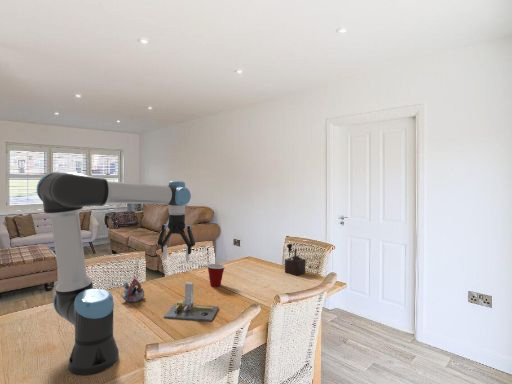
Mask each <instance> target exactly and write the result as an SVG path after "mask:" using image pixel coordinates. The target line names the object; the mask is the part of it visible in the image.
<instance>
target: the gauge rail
mask: <svg viewBox="0 0 512 384" xmlns="http://www.w3.org/2000/svg"><path fill="white" fill-rule="evenodd" d="M184 301H185V299H179V300H178V301H177V303H175V304H176V305H175V310H177V312H178V310H182V309H184ZM204 306H205V305H202V306H191V310H205V311H212V310H213V307H204Z"/></svg>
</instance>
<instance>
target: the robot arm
mask: <svg viewBox="0 0 512 384" xmlns="http://www.w3.org/2000/svg"><path fill="white" fill-rule="evenodd" d="M36 194H37V196H38V198H39V199H40V201H41V202H42V206H43V212H44V214H45V215H47V216H48V217H50V222H51V223H50V224H51V231H52V238H53V239H52V240H53V244H54V250H55V259H56V265H57V273H58V279H59V282H58V284H57V285H56V286H55V294H54V297H53V299H52V300H53V301H52V302H53V303H52V305H53V308H54V310H55V313H57V314H58V316H60V317H61V318H63V319H65V320H66V321H68V322H69V323H70V324H72V325H73V326H74V345H73V348H72V350H71V353H70V355H69V357H68V358H69V359H68V370H69V371H70V372H71V373H72V374H74V375H80V376H84V375H85V376H86V375H87V374H89V375H93V373H94V374H97V372H98V373H100V371H101V372H103V371H105V369H106V370H108V369H109V368H111V367H112V366H114V365H115V364H116V363H115V362H117V361H118V360H119V356H120V355H119V351H120V350H119V347H118V346H117V342H116V340H115V337H114V307H115V302H114V297H113V294H112V293H111V292H110V291H109V290H107V289H102V288H101V289H100V288H94V284H93V279H92V278H91V277H89V276H88V275H87V268H86V267H87V266H86V259H85V250H84V245H83V244H84V243H83V236H82V235H83V234H82V228H81V227H82V226H81V221H80V213H81V211H82V210H83V209H84V207H94V206H95V207H103V206H105V205H106V204H134V205H135V204H137V205H139V204H140V205H141V204H144V205H168V213H169V214H168V224H166V223H164V224H162V225H161V231H160V234H159V238H158V241H157V245H158V246H160V247H161V250H160V251H161V253H162V261H166V260H167V259H168V245H166V244H167V243H168V241H169V240H170V238H171V236H172V235H174V234H176V235H180V236H181V237H182V240H183V241H184V242H185V245H186V246H187V247H185V262H189V261H190V255H191V254H192V247H195V245H196V241H195V238H194V233H193V231H192V225H191V224H190V225H186V214H185V213H186V205H188V203H190V201H191V199H192V195H191V191H190V190H189V188H187V187H186V183H185V182H184V181H183V180H181V181H180V180H174V181H173V180H170V181H169V182H168V185H160V184H159V185H158V184H147V183H146V184H145V183H135V182H122V181H121V182H120V181H111V180H107V178H105V177H98V176H93V175H87V174H83V173H78V172H71V171H54V172H50V173H47V174H45V175H43V176H42V177H41V178H40V179H39V180H38V182H37V185H36ZM167 229H168V230H169V231H168V232H167V234H166V231H167ZM185 229H186V230H187V231H186V232H187V235H186V232H185ZM165 234H166V235H165ZM114 363H115V364H114ZM113 364H114V365H113ZM110 366H111V367H110ZM107 368H108V369H107ZM87 376H88V375H87Z"/></svg>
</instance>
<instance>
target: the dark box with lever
mask: <svg viewBox="0 0 512 384" xmlns="http://www.w3.org/2000/svg"><path fill="white" fill-rule="evenodd" d="M286 248H287V249H288V251H287V252H288V253H290V254H291V253H292V254H293V253H294V255H293V256H291V257H289V258H285V259H284V273H285V274H288V275H292V276H295V277H298V276H301V275H304V274H306V266H307V265H306V262H307V261H306V259H305V258H302V257H300V256H299V255H297V252H298V251H297V248H295V249H294V250H293V244H292V243H288V244H286Z"/></svg>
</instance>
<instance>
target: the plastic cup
mask: <svg viewBox="0 0 512 384" xmlns="http://www.w3.org/2000/svg"><path fill="white" fill-rule="evenodd" d="M206 267H207V271H208V279H209V284H210V287H213V288H218V287H220V286H221V284H222V279H223V275H224V270H225V268H226V265H224V264H222V263H209V264H208V263H207V265H206Z"/></svg>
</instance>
